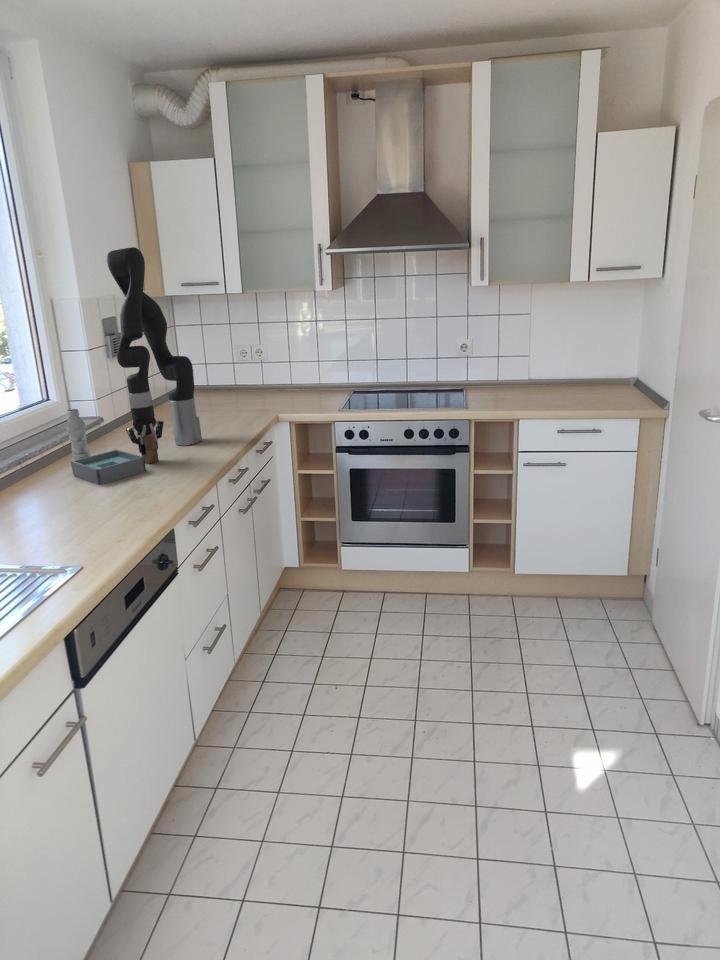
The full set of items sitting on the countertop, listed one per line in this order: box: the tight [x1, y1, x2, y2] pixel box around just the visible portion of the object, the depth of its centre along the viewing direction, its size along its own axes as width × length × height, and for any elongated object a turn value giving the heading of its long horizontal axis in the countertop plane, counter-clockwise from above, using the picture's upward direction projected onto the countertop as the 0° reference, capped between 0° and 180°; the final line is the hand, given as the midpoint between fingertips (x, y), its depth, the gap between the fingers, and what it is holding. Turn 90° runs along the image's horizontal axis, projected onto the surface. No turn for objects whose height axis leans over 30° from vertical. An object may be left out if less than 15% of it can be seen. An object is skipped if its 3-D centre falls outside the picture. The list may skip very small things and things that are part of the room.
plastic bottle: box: [65, 408, 92, 461], centre depth 247 cm, size 6×7×20 cm
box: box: [70, 449, 147, 486], centre depth 237 cm, size 17×18×5 cm
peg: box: [140, 433, 160, 465], centre depth 247 cm, size 4×4×10 cm
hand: (149, 452), depth 248 cm, fingers closed on peg, 4 cm apart
